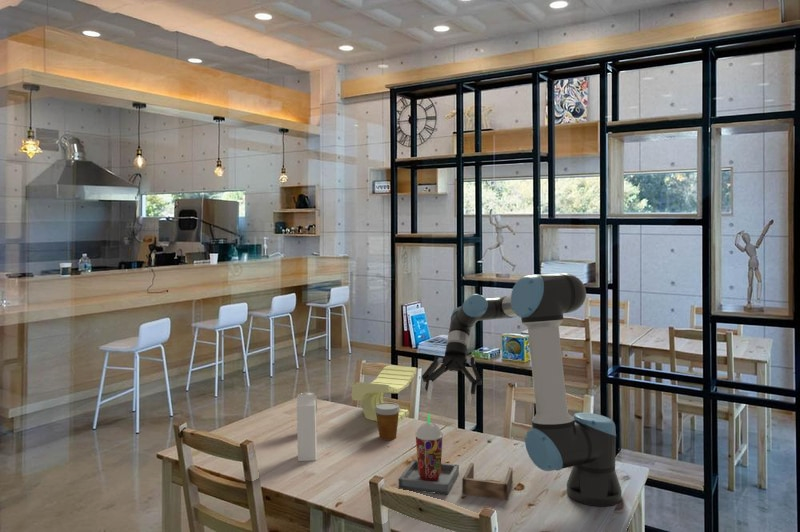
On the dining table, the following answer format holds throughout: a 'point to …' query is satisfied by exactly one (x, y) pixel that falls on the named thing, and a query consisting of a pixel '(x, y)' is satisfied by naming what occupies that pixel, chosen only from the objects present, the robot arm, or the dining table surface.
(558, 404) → the robot arm
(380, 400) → the slatted curved stool
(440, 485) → the tray
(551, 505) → the dining table surface
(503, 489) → the open-sided wooden box
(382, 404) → the disposable coffee cup
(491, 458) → the dining table surface
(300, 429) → the milk
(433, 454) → the smoothie
